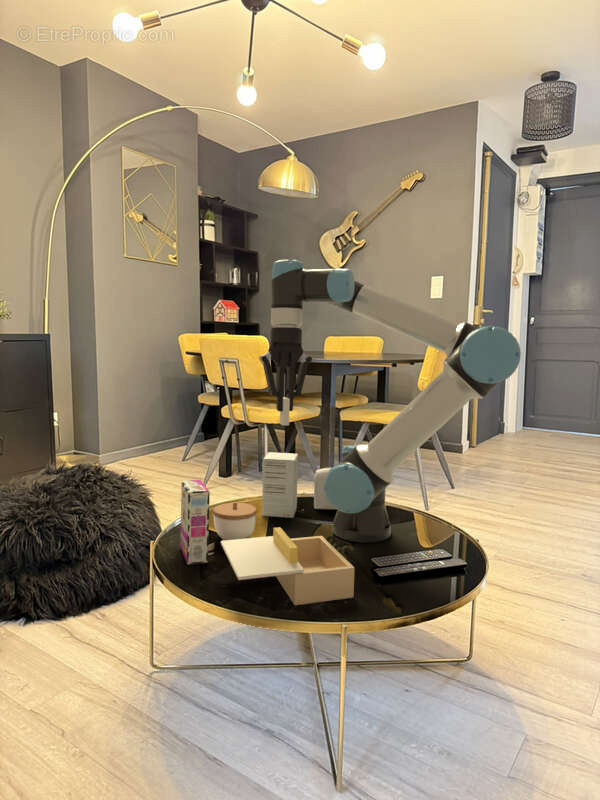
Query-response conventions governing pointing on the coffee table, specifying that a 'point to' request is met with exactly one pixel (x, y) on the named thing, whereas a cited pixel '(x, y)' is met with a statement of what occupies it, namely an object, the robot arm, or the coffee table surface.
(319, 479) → the photo printer
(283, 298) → the robot arm
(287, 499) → the supplement box
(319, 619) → the coffee table surface
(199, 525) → the candy bar box
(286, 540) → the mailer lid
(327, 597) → the mailer box
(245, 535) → the lidded jar
